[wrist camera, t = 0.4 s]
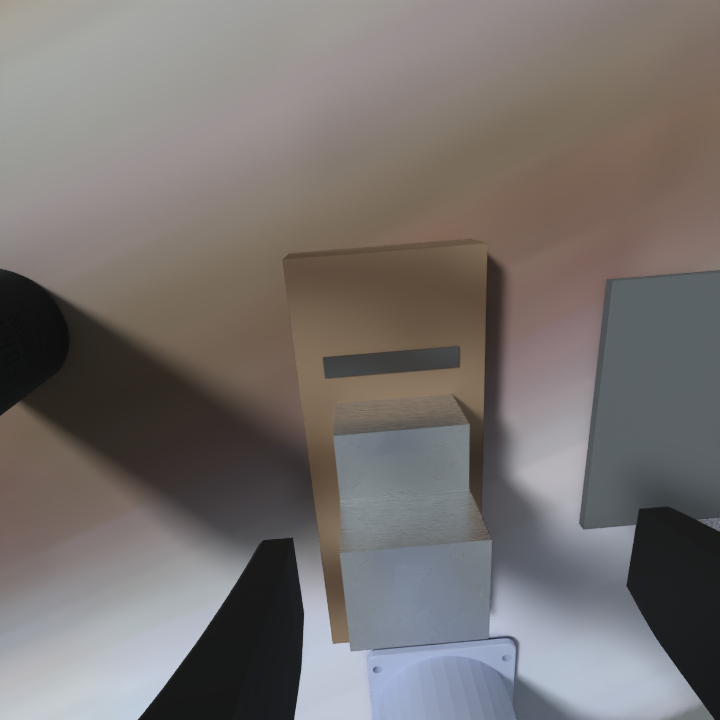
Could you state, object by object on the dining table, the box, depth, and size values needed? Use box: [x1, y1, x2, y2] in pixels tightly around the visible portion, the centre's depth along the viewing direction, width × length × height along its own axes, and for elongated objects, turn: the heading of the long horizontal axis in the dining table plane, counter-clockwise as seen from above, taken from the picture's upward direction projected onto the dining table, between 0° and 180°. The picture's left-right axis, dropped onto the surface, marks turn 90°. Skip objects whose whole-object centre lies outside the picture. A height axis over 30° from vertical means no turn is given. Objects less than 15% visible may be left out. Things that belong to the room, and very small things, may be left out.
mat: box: [579, 270, 720, 529], centre depth 19 cm, size 12×10×1 cm
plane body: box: [283, 239, 487, 644], centre depth 19 cm, size 18×7×2 cm, turn 4°
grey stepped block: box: [333, 394, 492, 651], centre depth 16 cm, size 7×4×5 cm, turn 4°
